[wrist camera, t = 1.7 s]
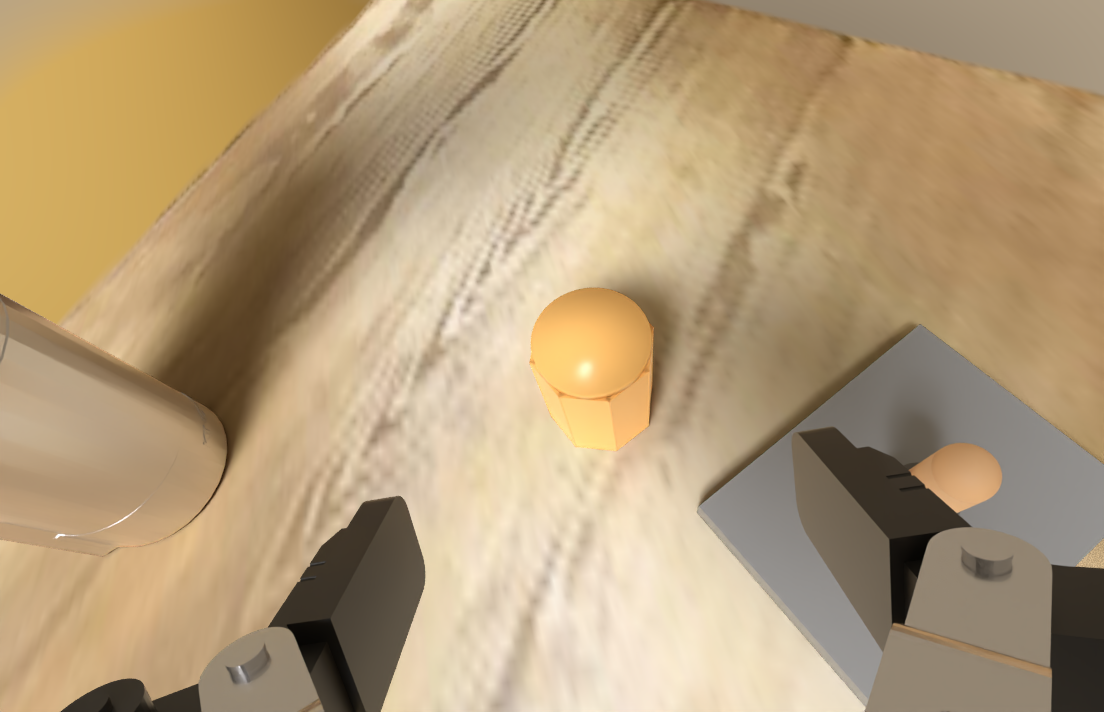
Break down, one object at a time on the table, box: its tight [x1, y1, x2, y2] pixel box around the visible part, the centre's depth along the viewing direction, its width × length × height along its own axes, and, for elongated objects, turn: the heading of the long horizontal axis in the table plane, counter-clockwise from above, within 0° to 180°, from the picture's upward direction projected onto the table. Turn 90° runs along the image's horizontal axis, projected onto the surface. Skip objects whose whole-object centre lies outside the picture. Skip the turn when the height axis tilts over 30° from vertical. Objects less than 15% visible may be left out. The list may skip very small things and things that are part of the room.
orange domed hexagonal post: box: [530, 288, 654, 451], centre depth 31 cm, size 6×6×8 cm
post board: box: [697, 324, 1104, 707], centre depth 26 cm, size 16×12×8 cm
